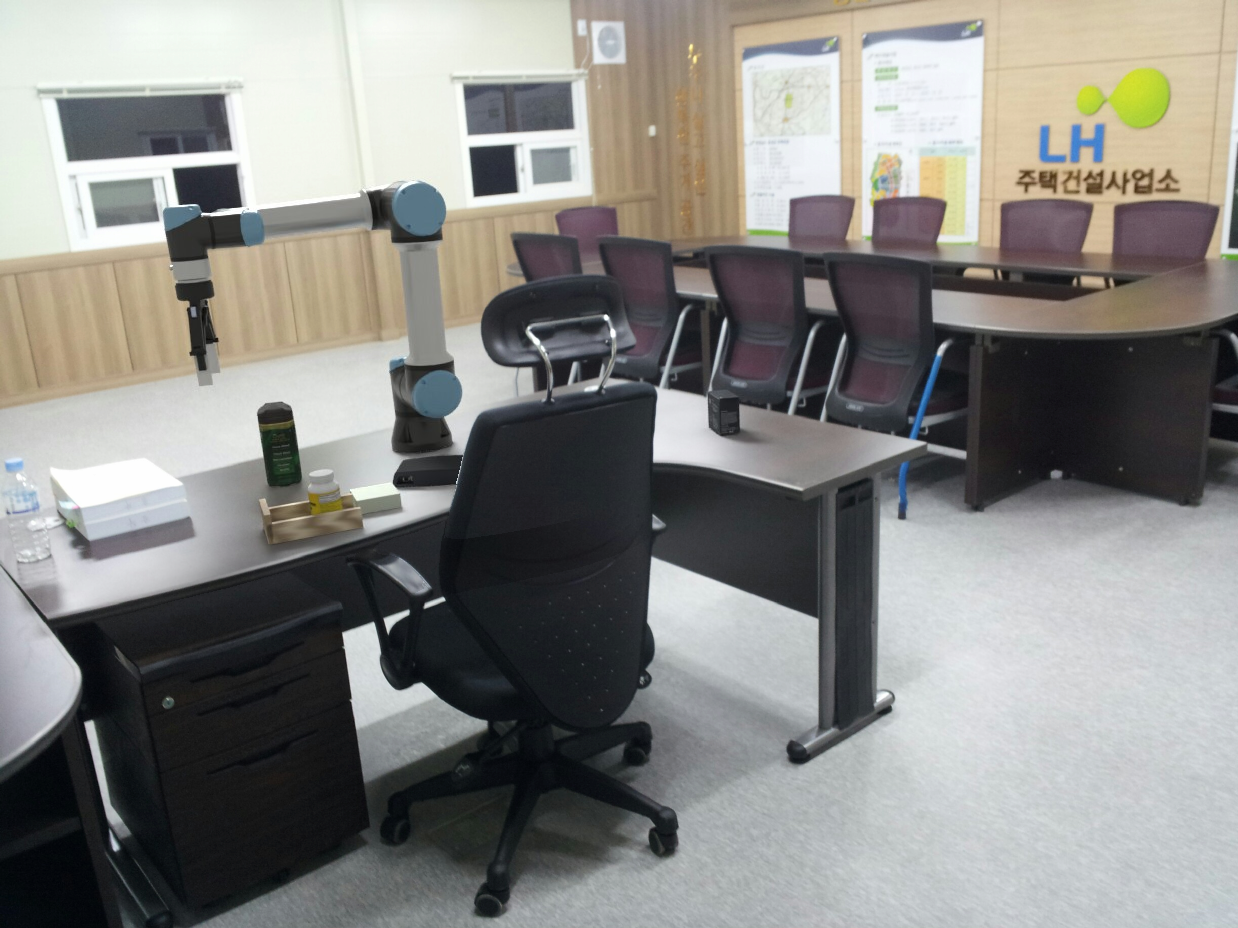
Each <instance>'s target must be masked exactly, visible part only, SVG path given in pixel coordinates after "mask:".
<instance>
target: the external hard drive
mask: <svg viewBox="0 0 1238 928" xmlns="http://www.w3.org/2000/svg"><path fill="white" fill-rule="evenodd" d="M463 455H464V454H442V455H441V454H440V455H429V456H422V457H421V456H420V457H413V458H407V459H403V460H402V461H401V462H400V464H399V466H398V467H397V469H396V471H395V472H394V474H393V479H392V484H393V485H394V486H395V487H396V489H398V488H399V489H401V488H425V487H440V486H454V485H456V481H457V478H458V474H459V470H460V466H461V461H462V457H463ZM456 486H457V485H456Z"/></svg>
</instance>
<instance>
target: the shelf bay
mask: <svg viewBox="0 0 1238 928" xmlns="http://www.w3.org/2000/svg"><path fill="white" fill-rule="evenodd" d="M340 495H341V502H342V509H343V510H339V511H333V512H327V513H322V514H316V515H311V510H310V503H309V499H308V500H303V501H298V502H297V501H296V502H292V503H286V504H281V505H275V506H268V503H267V501H266V498H260V499H258V503H259V510H260V516H261V521H262V526H263V531H264V534H265V536H266V540H267V544H268V545H269V546H270V545H276V544H280V543H286V542H291V541H297V540H303V539H308V538H313V537H318V536H325V535H329V534H335V533H341V532H345V531H352V530H355V529H357V530H358V529H361V528H364V523H363V521H364V520H363V516H362V515H363V514H362V513H361V508H360V507H355V508H354V503H353V496H352V493H350V492H349V493H345V494H340Z"/></svg>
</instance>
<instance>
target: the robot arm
mask: <svg viewBox="0 0 1238 928" xmlns="http://www.w3.org/2000/svg"><path fill="white" fill-rule="evenodd" d="M446 217H447V205H446V202H445V200H444V197H443V195H442V193H440V191H439V190H438V189H437V188H436V187H434V186H433V185H431V184H429V183H427V182H424V181H421V180H396V181H394V182H390V183H386V184H381V185H379V186H374V187H369V188H360V190H359V191H358V192H357V193H356V194H355V193H354V194H346V195H337V196H336V195H335V196H329V197H322V198H321V197H319V198H311V199H302V200H293V201H285V202H279V203H278V202H277V203H269V204H258V205H252V206H243V207H234V208H233V207H232V208H219V209H216V210H215V211H213V212H211V213H210V212H202V210H201V207H200V205H199V204H182V205H180V204H178V205H177V204H176V205H170V206H166V207H164V209H163V211H162V219H163V226H164V235H165V239H166V243H167V244H166V245H167V248H168V254H169V260H170V264H171V265H169V266H168V270H169V271H172V276H173V280H174V281H176V282H175V284H174V289H175V295H176V299H177V301H180V302H189V305H188V306H187V307H186V313H187V318H188V320H187V321H188V328H189V329H188V330H189V340H190V351H189V357H193V358H194V364H195V370H196V376H197V381H198V387H204V386H213V385H214V382H213V377H212V376H213V374H220V373H221V367H220V361H219V356H218V350H217V344H216V343H219V342H220V340H219V337H217V335H216V331H215V328H214V324H213V320H212V316H211V311H210V306H209V299H212V298H214V297H215V295H216V294H215V289H214V282H213V281H212V279H210V278H211V277H212V275H213V273H212V271H211V270H212V269H211V263H210V258H209V254H208V250H209V251H210V250H217V249H233V248H241V247H242V248H243V247H247V248H250V247H253V246H259V245H263V244H264V242H265V240H270V239H277V238H279V239H280V238H286V237H293V236H301V235H302V236H303V235H309V234H310V235H311V234H318V233H328V232H335V231H343V230H350V229H359V228H363V229H365V230H366V231H368V232H370V231H371V232H372V231H381V230H382V231H383V230H386V231H387V230H388V231H390V240H391V241H390V242H391V244H392V245H393V246H394V247H395V249H397V250H398V252H399V262H400V263H399V264H400V272H401V281H402V282H401V283H402V292H403V301H404V310H405V311H404V312H405V319H406V321H405V323H406V331H407V340H408V351H409V354H408V355H403V356H397V357H394V358H391V359H390V360H389V361H388V362H389V363H388V364H389V365H388V367H389V370H388V372H389V373H388V374H389V377H390V385H391V393H392V399H393V407H394V408H393V409H394V416H395V417H394V418H395V420H394V422H393V423H394V424H393V429H392V434H391V441H390V442H391V448H392V450H393V451H395V452H398V453H403V454H404V453H405V454H417V453H428V452H433V451H437V450H441V449H444V448H446V447H449V446H451V445H452V443H453V434H452V431H451V429H450V427H449V424H448V423H447V420H446V417H447V416H449V415H451V414H452V413H453V412H454V411H455V410H456V409H457V408H458V407H459V406H460V403H461V402H462V398H463V386H462V384H461V381H460V379H459V378H458V376H456V371H455V359H454V356H453V355H451V354H450V353H449V352H448V351H447V343H446V342H447V341H446V333H445V332H446V330H445V320H444V309H443V299H442V290H441V289H442V288H441V279H440V278H441V277H440V268H439V267H440V266H439V256H438V248H439V247H440V245H441V244H442V242H443V241H444V238H443V225H444V223H445V221H446Z"/></svg>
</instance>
